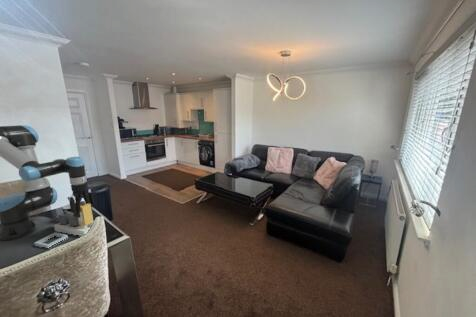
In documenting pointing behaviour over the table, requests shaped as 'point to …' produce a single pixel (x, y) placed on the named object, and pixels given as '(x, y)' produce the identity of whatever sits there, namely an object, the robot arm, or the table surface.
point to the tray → (41, 244)
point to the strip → (72, 229)
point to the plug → (86, 213)
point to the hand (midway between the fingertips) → (85, 218)
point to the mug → (67, 208)
